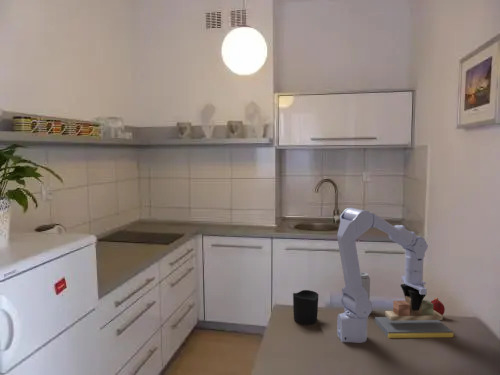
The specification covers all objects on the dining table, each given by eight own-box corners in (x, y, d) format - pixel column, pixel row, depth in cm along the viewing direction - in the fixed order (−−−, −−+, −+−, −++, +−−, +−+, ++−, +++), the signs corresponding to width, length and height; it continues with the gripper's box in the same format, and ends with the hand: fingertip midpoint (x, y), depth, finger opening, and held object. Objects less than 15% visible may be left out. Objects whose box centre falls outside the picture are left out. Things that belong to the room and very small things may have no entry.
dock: (388, 340, 125) (388, 332, 125) (374, 323, 138) (374, 317, 137) (453, 339, 126) (453, 331, 125) (433, 322, 138) (433, 316, 138)
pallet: (390, 320, 129) (391, 300, 128) (385, 315, 134) (385, 295, 133) (442, 319, 129) (442, 300, 129) (434, 314, 134) (434, 295, 134)
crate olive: (421, 315, 129) (422, 304, 129) (416, 311, 133) (416, 300, 133) (433, 315, 129) (433, 304, 129) (427, 311, 133) (427, 300, 133)
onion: (446, 322, 139) (447, 301, 138) (429, 320, 140) (430, 300, 139) (441, 315, 145) (442, 295, 144) (425, 314, 146) (426, 294, 145)
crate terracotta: (398, 316, 129) (398, 304, 129) (393, 311, 133) (393, 300, 133) (409, 315, 129) (409, 304, 129) (404, 311, 133) (404, 300, 133)
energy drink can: (350, 310, 149) (351, 274, 148) (357, 306, 154) (358, 270, 153) (365, 315, 145) (366, 277, 144) (371, 310, 150) (372, 273, 149)
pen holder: (319, 326, 136) (319, 299, 135) (293, 325, 136) (293, 298, 136) (316, 315, 145) (317, 290, 144) (292, 314, 146) (292, 289, 145)
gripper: (436, 275, 123) (434, 315, 124) (415, 263, 138) (414, 299, 139) (415, 276, 123) (413, 316, 124) (396, 263, 137) (395, 299, 138)
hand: (412, 307), depth 131 cm, fingers closed on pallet, 4 cm apart
